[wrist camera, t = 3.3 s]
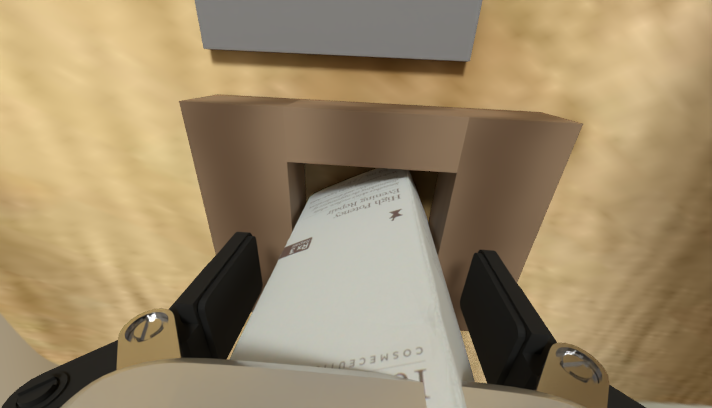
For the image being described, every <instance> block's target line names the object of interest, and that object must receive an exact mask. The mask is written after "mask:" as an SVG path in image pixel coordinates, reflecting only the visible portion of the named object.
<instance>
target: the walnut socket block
mask: <svg viewBox="0 0 712 408" xmlns="http://www.w3.org/2000/svg"><path fill="white" fill-rule="evenodd" d="M179 103H180V107H181V111H182V115H183V119H184V124H185V128H186V132H187V136H188V140H189V144H190V149H191V153H192V157H193V161H194V165H195V169H196V174H197V178H198V182H199V186H200V190H201V195H202V199H203V203H204V207H205V211H206V215H207V220H208V224H209V228H210V232H211V236H212V240H213V245H214V249H215V253H216V255H217V254H218V252H219V251H220V250H221V249H222V248H223V247H224V245H225V244H226V243H227V242H228V241H229V240H230V238H231V237H232V236H233V235H234V234H235V233H236V232H250V233H251V234H252V236H255V237H256V241H257V248H258V255H259V262H260V268H261V275H262V282H263V287H262V291H261V293H260V295H259V297H258V299H257V301H256V303H255V305H254V307H253V309H252V311H251V312H253V310H254V308H255V306H256V304H257V302H258V300H259V298H260V296H261V294H262V292H263V290H264V288H265V286H266V284H267V282H268V280H269V278H270V276H271V274H272V272H273V270H274V268H275V266H276V264H277V262H278V259H279V257H280V255H281V254H282V252H283V250H284V248H285V246H286V244H287V241H288V239H289V238H290V236H291V234H292V232H293V230H294V227H295V225H296V224H297V221H298V219H299V217H300V215H301V213H302V211H303V209H304V207H305V205H306V189H305V167H304V163H311V164H326V165H342V166H357V167H373V168H388V169H404V170H419V171H435V172H438V176H437V181H436V186H435V191H434V196H433V202H432V207H431V212H430V217H429V222H428V225H429V228H430V232H431V235H432V238H433V242H434V245H435V249H436V252H437V255H438V258H439V262H440V265H441V269H442V272H443V275H444V279H445V282H446V285H447V289H448V292H449V295H450V299H451V302H452V305H453V308H454V312H455V315H456V319H457V322H458V325H459V329H460V330H461V331H468V328H467V325H466V322H465V319H464V317H463V314H462V311H461V308H460V298H461V295H462V292H463V288H464V285H465V281H466V278H467V275H468V271H469V268H470V265H471V261H472V258H473V255H474V253H478V251H479V250H494V251H496V252H497V254H498V255H499V257H500V258H501V260H502V261H503V263H504V264H505V266H506V268H507V269H508V271H509V272H510V274H511V275H512V277H513V278H514V280H515V281H516V283H517V281H518V279H519V277H520V274H521V272H522V269H523V267H524V265H525V262H526V260H527V257H528V255H529V253H530V250H531V248H532V245H533V243H534V240H535V238H536V236H537V233H538V231H539V228H540V226H541V224H542V221H543V219H544V216H545V214H546V212H547V209H548V207H549V204H550V202H551V200H552V197H553V195H554V192H555V190H556V188H557V185H558V183H559V180H560V178H561V176H562V173H563V171H564V168H565V166H566V164H567V161H568V159H569V156H570V154H571V152H572V149H573V147H574V144H575V142H576V140H577V137H578V135H579V132H580V130H581V128H582V125H583V124H582V123H578V122H575V121H571V120H567V119H564V118H560V117H556V116H553V115H549V114H545V113H542V112H527V111H508V110H490V109H472V108H454V107H435V106H417V105H399V104H380V103H362V102H344V101H325V100H307V99H289V98H270V97H252V96H234V95H213V96H207V97H201V98H195V99H189V100H183V101H179Z"/></svg>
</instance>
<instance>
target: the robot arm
mask: <svg viewBox="0 0 712 408" xmlns="http://www.w3.org/2000/svg"><path fill="white" fill-rule="evenodd" d="M262 287H263V282H262V275H261V268H260V262H259V255H258V248H257V241H256V237H255V236H252V234H251V233H250V232H236V233H235V234H234V235H233V236H232V237H231V238H230V240H229V241H228V242H227V243H226V244H225V245H224V247H223V248H222V249H221V250H220V251H219V252H218V254H217V255H216V256H215V257H214V258H213V259H212V260H211V262H210V263H208V264H207V266H206V267H205V268H204V269H203V270H202V271H201V273H200V274H199V275H198V276H197V277H196V278H195V280H194V281H193V282H192V283H191V284H190V285H189V286H188V288H187V289H186V290H185V291H184V292H183V293H182V295H181V296H180V297H179V298H178V299H177V300H176V302H175V303H174V304H173V305H172V306H171V307H170V308H169V310H168V309H163V308H159V309H153V310H149V311H146V312H144V313H141V314H139V315H137V316H136V317H134V318H133V319H131V320H130V321H129V322H128V323H127V324H126V325H124V327H123V328H122V330H121V331H120V333H119V337H118V340H117V341H115V342H112V343H110V344H108V345H106V346H103V347H101V348H99V349H97V350H94V351H92V352H90V353H88V354H85V355H83V356H81V357H79V358H76V359H74V360H72V361H70V362H67V363H65V364H63V365H61V366H59V367H56V368H54V369H52V370H49V371H47V372H45V373H43V374H41V375H39V376H37V377H35V378H33V379H31V380H30V381H28V382H27V383H26V384H24V385H23V386H21V387H20V388H19V389H18V390H16V392H14V393H13V394H12V395H11V396H10V397H9V398H8V399H7V401H6V402H5V403H4V404H3V406H2V408H427V406H426V400H425V393H424V385H423V382H419V381H415V380H411V379H407V378H402V377H397V376H393V375H388V374H383V373H377V372H366V371H355V370H344V369H333V368H322V367H311V366H300V365H288V364H276V363H265V362H253V361H240V360H226V359H227V357H228V355H229V353H230V352H231V350H232V348H233V346H234V344H235V342H236V340H237V338H238V336H239V334H240V332H241V330H242V328H243V326H244V324H245V322H246V320H247V318H248V317H249V315H250V313H251V311H252V309H253V307H254V305H255V303H256V301H257V299H258V297H259V295H260V293H261V291H262ZM460 308H461V311H462V314H463V317H464V319H465V322H466V325H467V328H468V331H469V333H470V336H471V339H472V342H473V345H474V347H475V350H476V353H477V356H478V359H479V361H480V364H481V367H482V370H483V373H484V375H485V378H486V381H487V384H486V383H477V382H469V381H462V390H463V394H464V398H465V403H466V407H467V408H645V407H644V406H642V405H641V404H639V403H638V402H636V401H634V400H633V399H631V398H630V397H628V396H626V395H625V394H623V393H622V392H620V391H619V390H617V389H615V388H614V387H612V386H611V385H609V377H608V374H607V372H606V371H605V369H604V367H603V366H602V365H601V364H600V363H599V362H598V361H597V360H596V359H595V358H594V357H593V356H592V355H590V354H589V353H587V352H586V351H584V350H583V349H581V348H579V347H576V346H574V345H571V344H567V343H557V342H556V340H555V339H554V337H553V336H552V334H551V333H550V331H549V330H548V328H547V327H546V325H545V324H544V322H543V321H542V319H541V318H540V316H539V315H538V313H537V312H536V310H535V309H534V307H533V306H532V304H531V303H530V301H529V300H528V298H527V297H526V295H525V294H524V292H523V291H522V289H521V288H520V287H519V286H518V284H517V283H516V281H515V280H514V278H513V277H512V275H511V274H510V272H509V271H508V269H507V268H506V266H505V264H504V263H503V261H502V260H501V258H500V257H499V255H498V254H497V252H496V251H494V250H479V251H478V253H474V255H473V258H472V261H471V265H470V268H469V271H468V275H467V278H466V281H465V285H464V288H463V292H462V295H461V298H460Z"/></svg>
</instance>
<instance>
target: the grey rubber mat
mask: <svg viewBox="0 0 712 408" xmlns="http://www.w3.org/2000/svg"><path fill="white" fill-rule="evenodd" d="M195 4H196V10H197V15H198V21H199V26H200V31H201V37H202V42H203V48H204V49H214V50H235V51H256V52H277V53H298V54H319V55H340V56H361V57H382V58H404V59H425V60H446V61H470V57H471V53H472V48H473V43H474V38H475V33H476V29H477V24H478V19H479V14H480V9H481V5H482V0H195Z"/></svg>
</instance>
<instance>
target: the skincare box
mask: <svg viewBox="0 0 712 408" xmlns="http://www.w3.org/2000/svg"><path fill="white" fill-rule="evenodd" d="M230 360H240V361H253V362H265V363H276V364H288V365H300V366H311V367H322V368H333V369H344V370H355V371H366V372H377V373H383V374H388V375H393V376H397V377H402V378H407V379H411V380H415V381H419V382H423V385H424V393H425V400H426V406H427V408H467V407H466V403H465V398H464V394H463V390H462V381H469V382H475V381H474V378H473V374H472V370H471V367H470V363H469V360H468V356H467V353H466V349H465V346H464V342H463V339H462V336H461V332H460V329H459V325H458V322H457V319H456V315H455V312H454V308H453V305H452V302H451V299H450V295H449V292H448V289H447V285H446V282H445V279H444V275H443V272H442V269H441V265H440V262H439V258H438V255H437V252H436V249H435V245H434V242H433V238H432V235H431V232H430V228H429V225H428V220H427V217H426V214H425V211H424V209H423V206H422V203H421V200H420V197H419V195H418V192H417V189H416V186H415V184H414V181H413V179H412V176H411V173H410V171H409V170H404V169H388V168H377V169H374V170H371V171H368V172H366V173H363V174H360V175H357V176H355V177H352V178H350V179H347V180H344V181H342V182H340V183H337V184H335V185H332V186H330V187H327V188H325V189H323V190H320V191H318V192H316V193H314V194H313V195H311V196H310V197H309V199H308V201H307V203H306V205H305V207H304V209H303V211H302V213H301V215H300V217H299V219H298V221H297V224H296V225H295V227H294V230H293V232H292V234H291V236H290V238H289V239H288V241H287V244H286V246H285V248H284V250H283V252H282V254H281V255H280V257H279V259H278V262H277V264H276V266H275V268H274V270H273V272H272V274H271V276H270V278H269V280H268V282H267V284H266V286H265V288H264V290H263V292H262V294H261V296H260V298H259V300H258V302H257V304H256V306H255V308H254V310H253V312H252V314H251V316H250V318H249V320H248V322H247V324H246V327H245V329H244V331H243V333H242V335H241V337H240V339H239V341H238V343H237V345H236V347H235V349H234V351H233V353H232V355H231V357H230Z"/></svg>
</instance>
